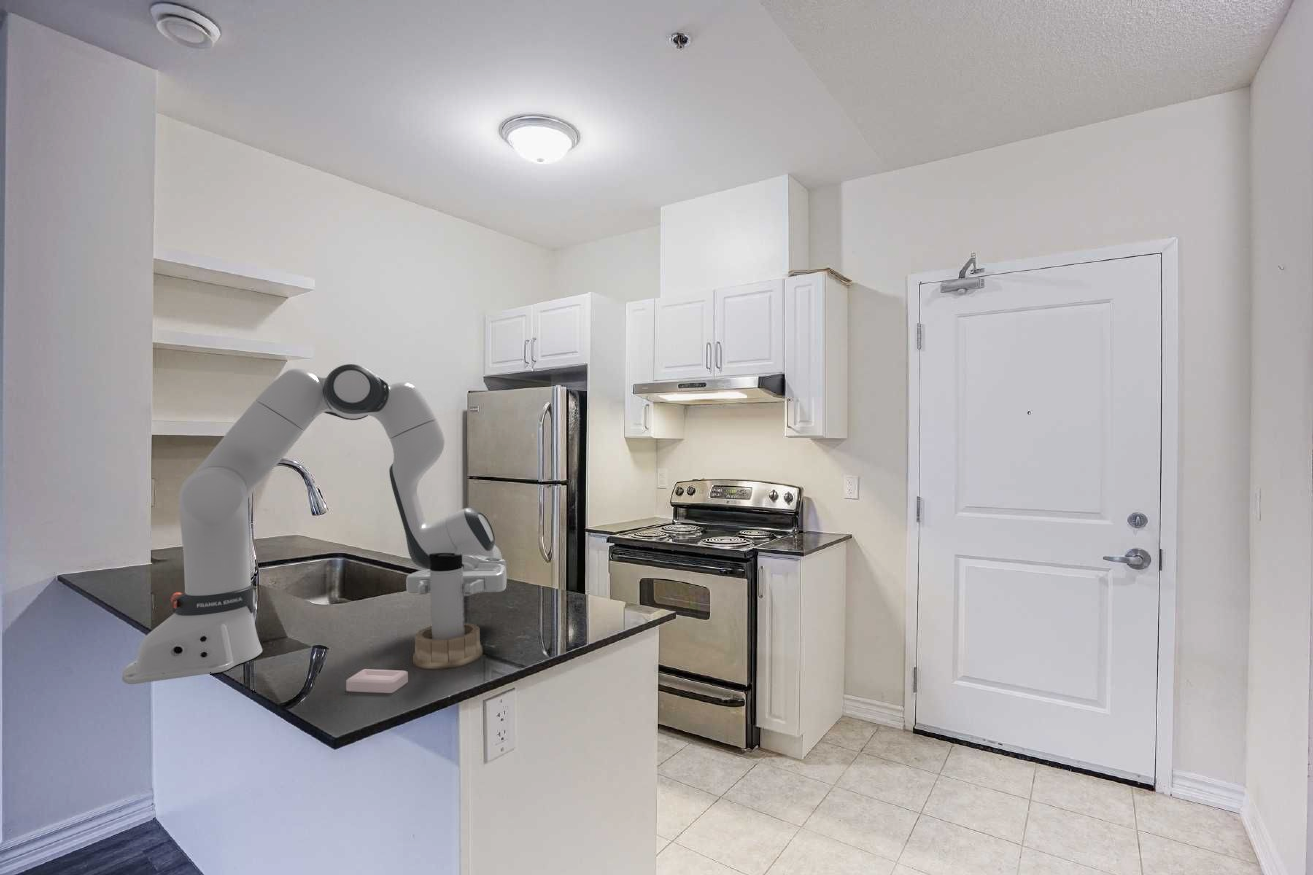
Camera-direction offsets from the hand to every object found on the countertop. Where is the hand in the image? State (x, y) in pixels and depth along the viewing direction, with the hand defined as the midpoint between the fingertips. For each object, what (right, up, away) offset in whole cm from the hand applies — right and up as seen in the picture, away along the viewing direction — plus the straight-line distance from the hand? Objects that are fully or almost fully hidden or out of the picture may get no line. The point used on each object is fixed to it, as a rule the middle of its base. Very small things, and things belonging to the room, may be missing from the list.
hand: (444, 590), depth 128 cm
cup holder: (0, -13, +1) cm, 14 cm away
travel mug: (0, -13, +1) cm, 13 cm away
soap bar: (-8, -15, -13) cm, 21 cm away
